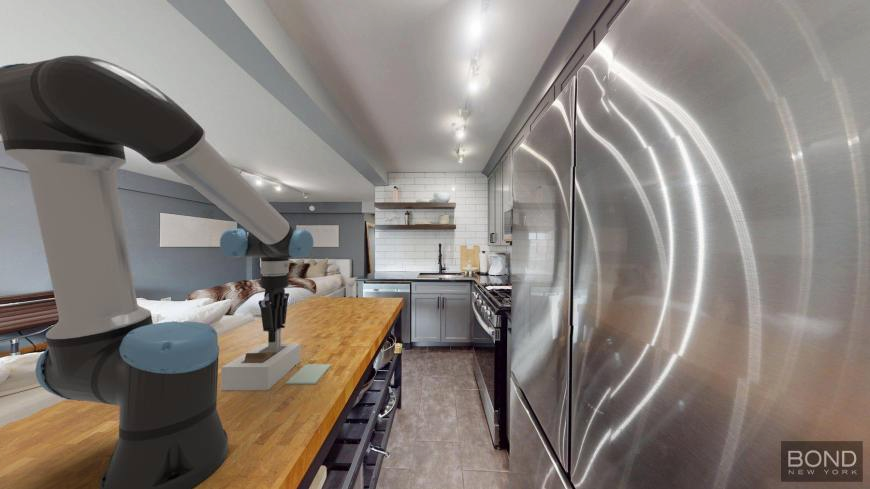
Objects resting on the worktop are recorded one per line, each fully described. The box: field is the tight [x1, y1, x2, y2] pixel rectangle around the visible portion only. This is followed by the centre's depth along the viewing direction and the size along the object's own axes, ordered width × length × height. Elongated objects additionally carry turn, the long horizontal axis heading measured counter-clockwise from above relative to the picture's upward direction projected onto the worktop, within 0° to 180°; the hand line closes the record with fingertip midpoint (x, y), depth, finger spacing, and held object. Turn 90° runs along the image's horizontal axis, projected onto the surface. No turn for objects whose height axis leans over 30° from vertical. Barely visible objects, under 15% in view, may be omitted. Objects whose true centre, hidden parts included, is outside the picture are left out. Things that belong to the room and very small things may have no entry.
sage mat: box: [285, 363, 332, 386], centre depth 81 cm, size 12×8×1 cm, turn 1°
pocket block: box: [220, 343, 302, 391], centre depth 80 cm, size 18×12×6 cm, turn 1°
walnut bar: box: [244, 352, 278, 363], centre depth 81 cm, size 12×5×2 cm, turn 2°
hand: (274, 350), depth 85 cm, fingers closed
